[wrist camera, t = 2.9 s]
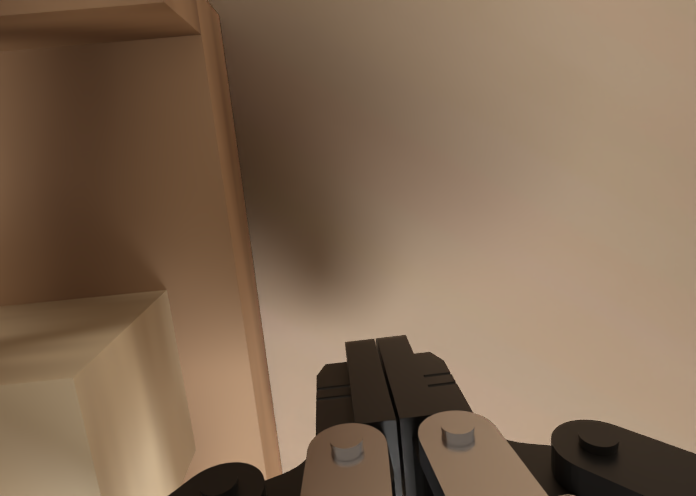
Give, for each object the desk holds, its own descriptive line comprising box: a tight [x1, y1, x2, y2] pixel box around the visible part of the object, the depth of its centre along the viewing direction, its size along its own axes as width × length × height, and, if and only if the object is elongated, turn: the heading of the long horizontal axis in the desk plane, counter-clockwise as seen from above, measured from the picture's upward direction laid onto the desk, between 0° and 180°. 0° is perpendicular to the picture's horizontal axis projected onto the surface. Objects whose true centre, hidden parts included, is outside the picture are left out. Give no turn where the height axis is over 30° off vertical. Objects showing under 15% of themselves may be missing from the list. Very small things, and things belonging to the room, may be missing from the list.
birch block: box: [0, 290, 196, 496], centre depth 10 cm, size 4×4×4 cm
